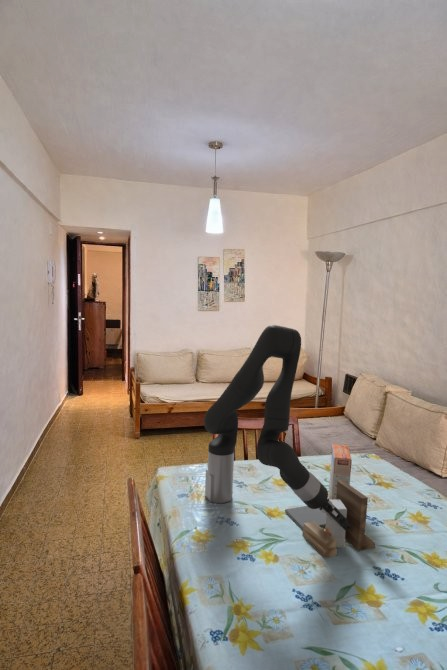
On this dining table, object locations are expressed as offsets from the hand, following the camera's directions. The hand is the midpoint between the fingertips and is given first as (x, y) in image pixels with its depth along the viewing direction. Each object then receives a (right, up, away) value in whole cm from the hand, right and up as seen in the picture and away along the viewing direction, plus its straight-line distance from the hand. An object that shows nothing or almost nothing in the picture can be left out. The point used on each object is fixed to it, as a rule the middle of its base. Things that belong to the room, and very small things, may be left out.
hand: (339, 520), depth 128 cm
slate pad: (-6, -5, +13) cm, 16 cm away
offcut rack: (0, -6, +1) cm, 7 cm away
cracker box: (+5, -5, +21) cm, 22 cm away
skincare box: (-2, -7, 0) cm, 7 cm away
